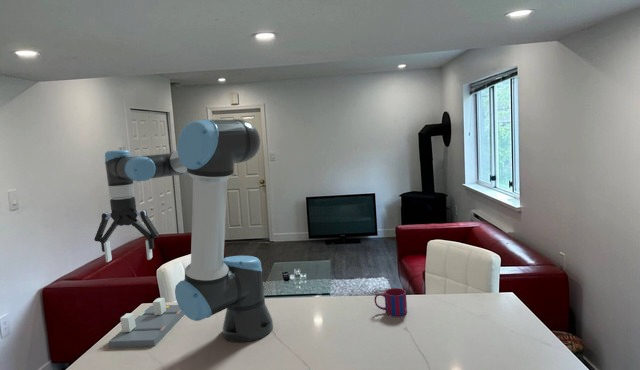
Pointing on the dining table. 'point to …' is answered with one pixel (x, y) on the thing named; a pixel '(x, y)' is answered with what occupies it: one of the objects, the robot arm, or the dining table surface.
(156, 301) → the block
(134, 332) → the breaker panel
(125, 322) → the block
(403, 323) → the dining table surface
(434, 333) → the dining table surface
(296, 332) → the dining table surface
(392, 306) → the mug
